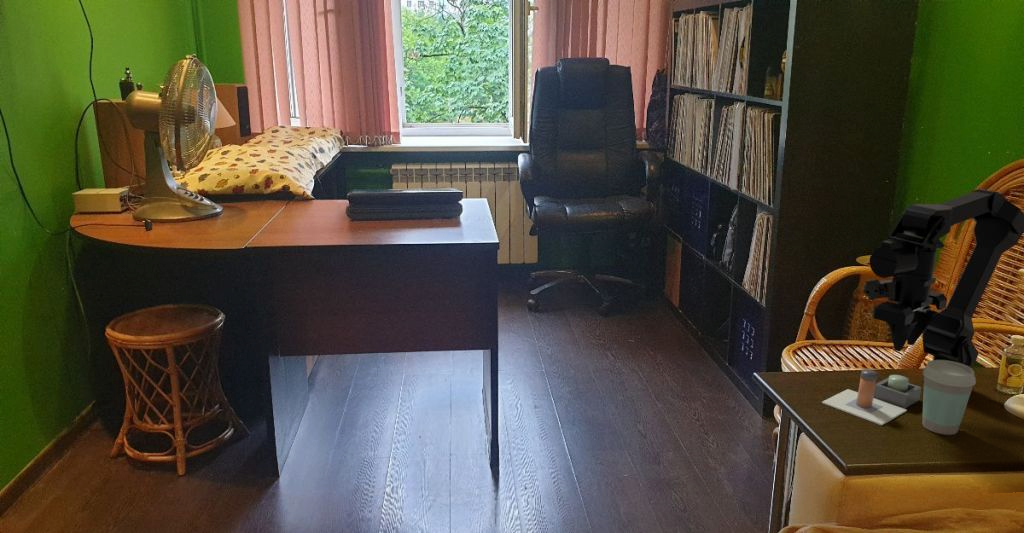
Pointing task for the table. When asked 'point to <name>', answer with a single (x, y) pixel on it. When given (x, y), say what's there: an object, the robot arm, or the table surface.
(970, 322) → the robot arm
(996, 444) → the table surface
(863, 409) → the paper
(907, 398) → the button housing
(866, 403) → the marker
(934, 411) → the coffee cup
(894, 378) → the button
